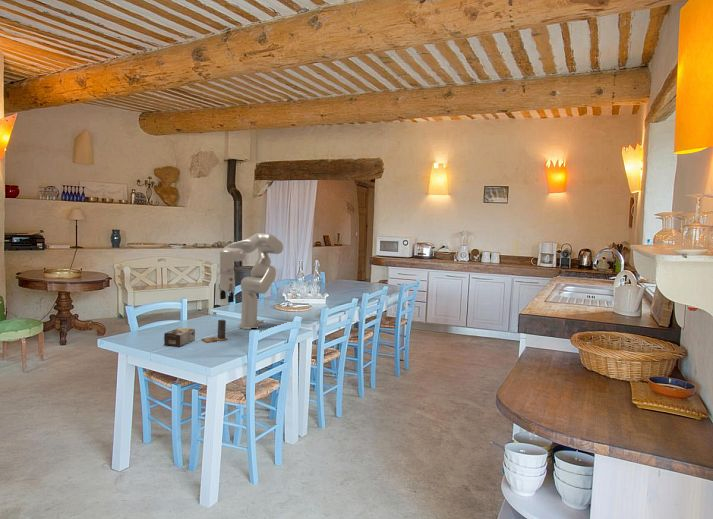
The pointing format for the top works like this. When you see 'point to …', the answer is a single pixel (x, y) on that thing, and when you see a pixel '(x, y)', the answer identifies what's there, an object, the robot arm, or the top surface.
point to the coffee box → (179, 336)
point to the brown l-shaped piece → (220, 333)
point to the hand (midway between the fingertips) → (226, 300)
